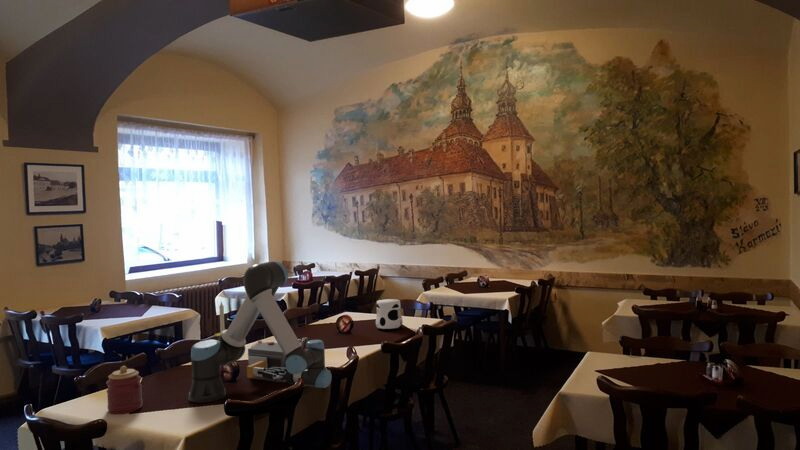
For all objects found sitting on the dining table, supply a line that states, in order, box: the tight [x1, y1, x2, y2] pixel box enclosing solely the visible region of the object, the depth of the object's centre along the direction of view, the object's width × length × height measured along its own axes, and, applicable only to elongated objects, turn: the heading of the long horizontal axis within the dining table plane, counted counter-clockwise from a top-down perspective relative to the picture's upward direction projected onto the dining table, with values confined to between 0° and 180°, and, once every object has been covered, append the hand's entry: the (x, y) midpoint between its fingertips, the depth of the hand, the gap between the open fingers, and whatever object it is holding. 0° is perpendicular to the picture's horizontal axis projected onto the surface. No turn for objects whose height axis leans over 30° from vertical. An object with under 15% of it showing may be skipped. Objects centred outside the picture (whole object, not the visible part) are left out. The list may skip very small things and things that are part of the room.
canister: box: [105, 365, 144, 415], centre depth 234 cm, size 13×13×18 cm
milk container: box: [375, 298, 403, 331], centre depth 369 cm, size 17×17×18 cm
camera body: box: [247, 341, 287, 383], centre depth 272 cm, size 15×22×15 cm
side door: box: [246, 355, 268, 379], centre depth 261 cm, size 12×10×9 cm
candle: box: [213, 301, 226, 337], centre depth 299 cm, size 10×10×32 cm
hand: (253, 370), depth 256 cm, fingers closed
